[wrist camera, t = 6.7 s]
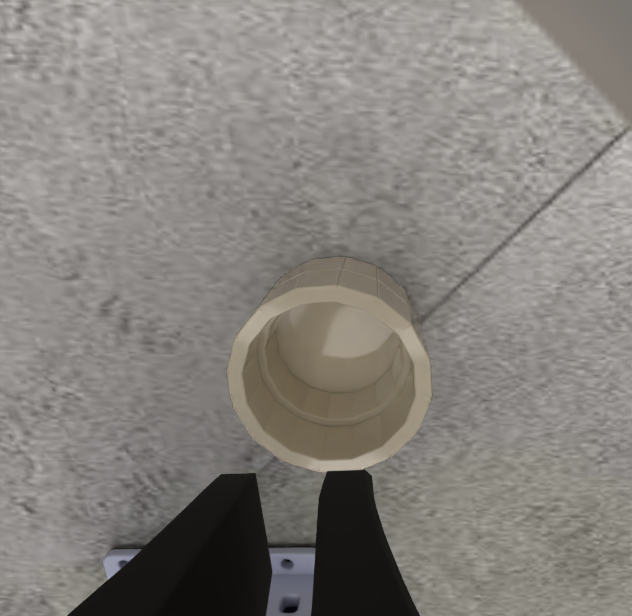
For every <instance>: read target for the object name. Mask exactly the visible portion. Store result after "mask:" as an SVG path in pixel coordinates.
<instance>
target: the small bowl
mask: <svg viewBox="0 0 632 616" xmlns="http://www.w3.org/2000/svg"><path fill="white" fill-rule="evenodd" d="M227 379H228V384H229V390H230V395H231V401H232V406H233V407H234V411H235V412H236V414H237V415H238V417H239V418H240V420H241V422H242V423H243V425H244V426H245V428H246V429H247V431H248V432H249V434H250V436H251V437H252V438H253V439H254V440H255V441H256V442H258V443H259V444H260V445H262V446H263V447H264V448H266V449H267V450H268V451H270V452H271V453H272V454H274V455H275V456H276V457H278V458H279V459H280V460H282V461H284V462H286V463H290V464H293V465H296V466H299V467H302V468H306V469H309V470H312V471H315V472H320V473H326V472H327V471H343V470H362V469H365V468H367V467H370V466H372V465H375V464H377V463H380V462H382V461H385V460H387V459H390V458H391V457H392V456H394V455H395V454H396V453H397V452H398V451H399V450H400V449H401V448H402V447H403V446H404V445H405V444H406V443H407V442H408V441H409V440H410V439H411V438H412V437H413V436H414V435H416V434H417V432H418V431H419V429H420V427H421V424H422V422H423V419H424V417H425V414H426V412H427V409H428V407H429V405H430V402H431V400H432V379H431V361H430V357H429V354H428V350H427V347H426V343H425V339H424V336H423V333H422V329H421V326H420V322H419V318H418V315H417V313H416V311H415V309H414V307H413V305H412V303H411V301H410V299H409V297H408V295H407V293H406V291H405V290H404V289H403V288H402V286H401V285H400V284H398V283H397V282H396V281H395V280H393V279H392V278H391V277H390V276H389V275H387V274H386V273H385V272H384V271H382V270H381V269H380V268H377V267H376V266H374V265H371V264H368V263H364V262H361V261H358V260H354V259H351V258H348V257H346V258H345V257H335V258H324V259H313V260H312V261H308V262H306V263H304V264H303V265H301V266H299V267H297V268H295V269H293V270H291V271H289V272H288V273H286V274H284V276H282V277H281V278H280V279H279V280H278V282H277V283H276V284H275V285H274V287H273V288H272V289H271V290H270V292H269V293H268V294H267V295H266V297H265V298H264V299H263V301H262V302H261V303H260V304H259V306H258V307H257V308H256V310H255V311H254V312H253V314H252V315H251V316H250V317H249V319H248V320H247V321H246V323H245V324H244V325H243V327H242V328H241V329H240V331H239V332H238V333H237V334H236V337H235V338H234V342H233V346H232V350H231V354H230V358H229V363H228V367H227Z"/></svg>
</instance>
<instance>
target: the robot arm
mask: <svg viewBox="0 0 632 616" xmlns="http://www.w3.org/2000/svg"><path fill="white" fill-rule="evenodd" d="M284 559H289V560H291V561H292V562H287V561H285V560H284ZM126 561H127V562H126ZM103 565H104V569H105V572H106V575H107V579H108V580H107V581H106V582H105V583H104V584H103V585H102V586H100V587H99V588H98V589H97V590H96V591H95V592H94V593H92V594H91V595H90V596H89V597H88V598H87V599H86V600H84V601H83V602H82V603H81V604H80V605H79V606H78V607H76V608H75V609H74V610H73V611H72V612H71V613H70V614H68V615H67V616H420V615H419V613H418V611H417V609H416V607H415V605H414V603H413V601H412V598H411V596H410V594H409V592H408V590H407V587H406V585H405V583H404V581H403V579H402V576H401V574H400V571H399V569H398V566H397V564H396V561H395V559H394V557H393V554H392V552H391V549H390V547H389V544H388V542H387V539H386V536H385V533H384V531H383V528H382V524H381V521H380V518H379V515H378V512H377V508H376V504H375V500H374V493H373V482H372V476H371V475H370V474H369V473H368V472H367V471H365V470H343V471H327V474H326V477H325V479H324V482H323V485H322V489H321V493H320V496H319V504H318V518H317V532H316V548H311V547H309V548H268V542H267V536H266V530H265V525H264V519H263V513H262V508H261V502H260V496H259V490H258V485H257V479H256V473H248V474H221V475H220V476H219V477H217V478H216V479H215V480H214V481H213V482H212V483H211V484H210V485H209V486H208V487H207V488H205V489H204V490H203V491H202V492H201V493H200V494H199V495H198V496H197V497H196V498H195V499H194V500H193V501H192V502H191V503H190V504H189V505H188V506H187V507H186V508H185V509H184V510H183V511H182V512H181V513H180V514H179V515H178V516H177V517H176V518H174V519H173V520H172V521H171V522H170V523H169V524H168V525H167V526H166V527H165V528H164V529H163V530H162V531H161V532H160V533H159V534H158V535H157V536H156V537H154V538H153V539H152V540H151V541H150V542H149V543H148V544H147V545H146V546H145V547H144V548H143V549H114V550H111V551H109V552H108V553H107V555H106V556H105V558H104V560H103Z"/></svg>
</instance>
